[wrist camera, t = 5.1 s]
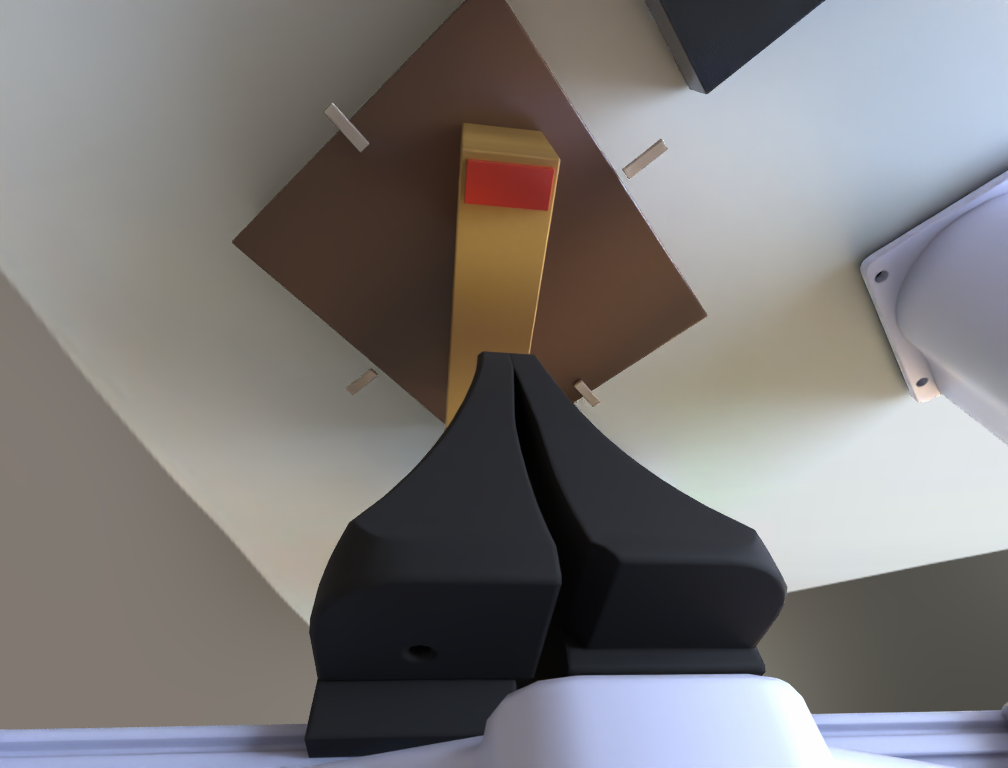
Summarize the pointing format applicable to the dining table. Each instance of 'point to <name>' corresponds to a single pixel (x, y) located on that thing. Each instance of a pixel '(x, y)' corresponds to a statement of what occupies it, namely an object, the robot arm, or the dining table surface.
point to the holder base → (433, 212)
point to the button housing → (722, 33)
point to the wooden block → (497, 246)
